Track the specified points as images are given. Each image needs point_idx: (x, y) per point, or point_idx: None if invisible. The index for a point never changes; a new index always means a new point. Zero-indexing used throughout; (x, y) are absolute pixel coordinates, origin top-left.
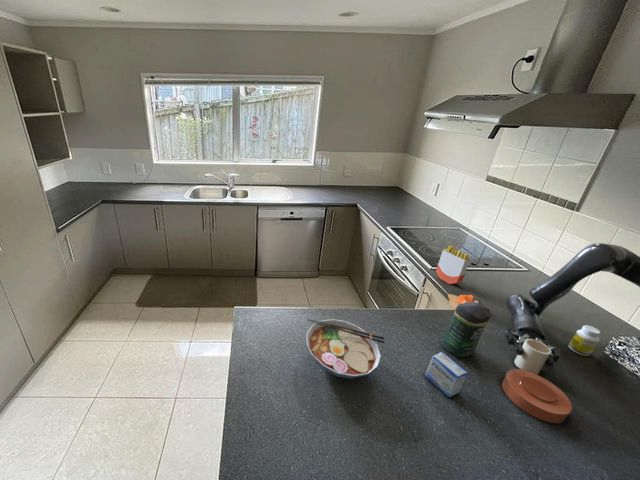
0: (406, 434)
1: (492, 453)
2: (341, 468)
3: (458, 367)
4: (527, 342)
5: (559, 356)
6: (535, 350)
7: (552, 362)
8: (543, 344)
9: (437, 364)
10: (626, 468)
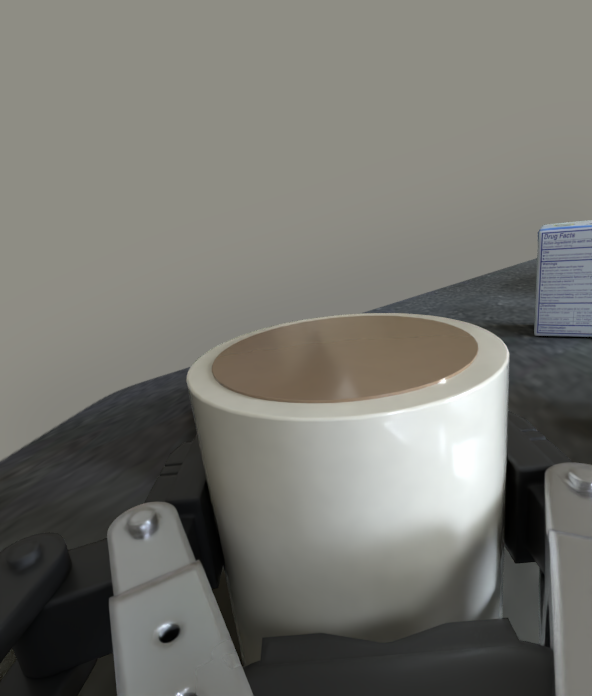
0: (522, 283)
1: (401, 312)
2: (534, 260)
3: (571, 226)
4: (463, 330)
5: (12, 551)
6: (363, 314)
7: (188, 446)
8: (252, 404)
9: None
10: (122, 392)
